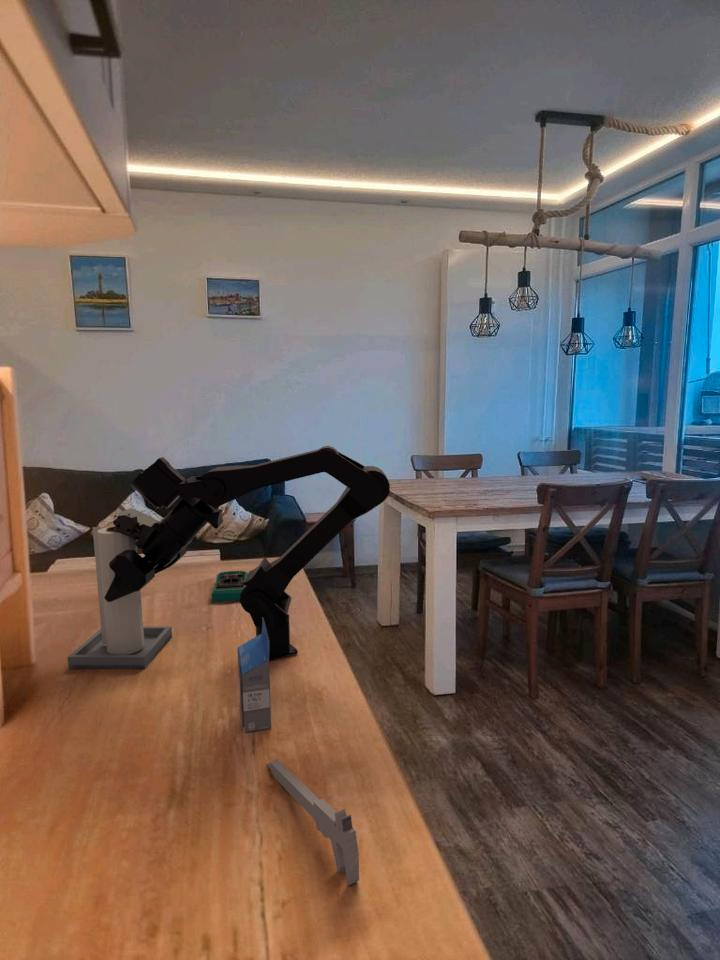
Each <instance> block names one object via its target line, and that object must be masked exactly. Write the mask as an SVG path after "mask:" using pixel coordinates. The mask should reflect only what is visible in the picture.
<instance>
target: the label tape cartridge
mask: <svg viewBox="0 0 720 960" xmlns="http://www.w3.org/2000/svg"><path fill="white" fill-rule="evenodd" d="M265 638H266V641H265ZM237 663H238V664H237V665H238V666H237V667H238V668H237V669H238V685H239V686H238V687H239V705H240V713H241V714H240V715H241V722H242V730H243V734H249V733H250V734H251V733H257V732H261V731H262V732H263V731H267V730H268V731H269V730H271V729H272V711H271V709H272V708H271V706H272V705H271V686H270V685H271V684H270V683H271V681H270V661H269V638H268V634H267V629H266V626H265V622H264V618H263V617H262V633H261V634H260V635H258V636H257V637H256V636H255V637H254V638H251V639H250V640H248V641H246V642H244V643H242V644H241V645H239V646H237Z"/></svg>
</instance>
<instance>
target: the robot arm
mask: <svg viewBox="0 0 720 960" xmlns="http://www.w3.org/2000/svg"><path fill="white" fill-rule="evenodd" d="M321 473H326V474H327V475H329V476H330V477H332V478H334V479H335V480H337V481H338V482H340V483H341V484H342V485H344V486H345V489H344V490H343V491H342V493H341V495H340V497H339V498H338V499H337V501H336V503H334V504H333V505H332V506H331V507H330V508H329V509H328V510H327V511H326V512H325V513H324V514H323V515H322V516H321V517H320V518H319V519H318V520H317V521H316V522H315V523H313V525H312V526H310V528H308V530H307V531H305V532H304V534H302V536H300V537H299V539H297V540H296V542H294V543H293V544H292V545H291V546H290V547H289V548H288V549H287V550H286V551H285V552H284V553H283V554H282V555H281V556H280V557H278V558H277V559H274V560H272V561H271V562H270V561H269V560H268V559H267V557H263V559H262V560H261V561H260V563H259V564H258V565H257V566H256V567H255V568H254V569H252V570H249V571H248V572H247V573H248V575H247V577H246V579H245V581H244V583H243V585H245V586H244V588H243V590H242V592H241V594H240V601H239V602H240V605H241V608H242V609H243V610H244V611H245V612H246V613H248V614H249V615H250V617H251V620H252V622H253V624H254V627H255V637H257V636H258V635H260V634H261V633H262V617H263V618H264V622H265V626H266V629H267V634H268V638H269V662H271V661H273V660H277V659H282V658H286V657H289V656H293V655H296V654H299V653H298V652H299V650H298V649H297V648H296V647H295V646H293V644H291V636H290V635H291V633H290V630H291V629H290V615H289V609H290V605H291V601H292V596H291V595H290V594H289V593H287V592H286V589H287V588H288V586H289V585H290V583H291V581H292V579H293V578H295V577H296V576H297V574H298V573H299V572H300V571H302V569H303V568H304V567H306V566H307V565H309V563H310V561H312V560H313V559H314V558H315V557H316V556H317V555H318V554H319V553H320V552H321V551H323V549H325V548H326V546H327V545H328V544H329V543H331V542H332V541H333V539H335V538H336V537H337V536H338V535H339V534H340V533H341V532H342V531H343V530H344V529H345V528H346V527H347V526H348V525H349V524H350V523H352V522H353V521H355V520H357V519H358V518H360V517H362V516H364V515H365V514H367V513H369V512H371V511H372V510H373V509H375V508H376V507H379V505H381V504H382V503H384V502H385V501H386V500H387V498H388V497H389V495H390V489H391V488H390V486H391V485H390V482H389V479H388V477H387V476H386V473H384V471H383V470H382V469H381V468H379V467H377V466H374V465H366V466H365V465H363V464H361V463H360V462H358V461H356V460H354V459H352V458H350V457H349V456H348V455H346V454H343V453H342V452H340V451H338V450H337V449H336V448H335V447H334V446H330V445H325V446H322V447H320V448H318V449H315V450H311V451H306V452H302V453H297V454H295V455H290V456H285V457H282V458H281V457H280V458H278V459H274V460H270V461H266V462H262V463H259V464H251V465H227V466H225V465H224V466H216V467H215V468H212V469H210V470H208V471H207V472H205V473H203V474H202V475H198V476H194V475H193V476H191V477H188V478H187V479H186V478H185V476H183V475H182V474H180V472H178V471H177V470H176V469H175V468H174V466H172V464H170V462H169V461H168V459H166V458H165V457H164V456H163V457H159V458H157V459H156V460H155V461H154V462H153V463H152V464H151V465H149V466H148V467H147V468H145V470H143V471H141V472H140V473H138V475H136V477H135V478H134V480H132V482H131V484H130V486H131V487H132V488H133V489H134V490H135V491H136V492H137V493H138V494H140V496H142V497H143V498H144V499H145V500H146V501H147V502H149V504H151V505H152V506H153V507H154V508H155V509H156V510H157V509H162V508H163V507H164V508H165V509H166V510H167V509H168V508H170V507H171V506H172V505H173V504H174V503H175V502H176V501H177V500H178V499H179V498H180V499H181V500H180V501H178V503H176V505H175V506H174V507H173V508H171V510H170V511H169V512H168V514H167V515H165V516H164V517H163V518H162V519H161V520H157V519H155V518H154V517H153V516H151V515H150V514H149V515H148V514H147V513H144V512H142V511H140V510H136V509H135V508H127V509H125V510H122V511H121V512H120V513H119V514H118V515H117V517H116V519H114V520H113V521H112V525H113V526H115V527H114V531H115V532H119V533H121V534H123V535H126V536H129V537H131V538H133V539H136V540H137V542H136V543H135V545H136V546H137V549H141V553H142V554H143V555H144V556H143V557H142V555H140V554H139V552H138V553H137V552H136V551H135V550H125V551H123V552H122V553H120V554H118V555H116V556H115V557H114V559H113V560H112V561H111V562H110V563H109V567H110V568H111V569H112V571H113V572H114V573H115V576H114V579H113V581H112V583H111V585H110V587H109V589H108V591H107V593H106V595H105V597H104V598H105V600H106V601H108V602H111V601H114V600H116V599H119V598H121V597H123V596H126V595H128V594H131V593H133V592H136V591H139V590H142V589H143V588H145V587H146V586H147V585H148V584H149V583H150V582H151V581H152V580H153V579H154V578H155V577H156V574H158V573H160V572H162V571H164V570H167V569H169V568H170V567H172V566H174V565H175V564H176V563H177V562H179V561H180V560H182V558H183V557H184V556H185V555H186V554H187V547H188V545H189V544H190V543H192V541H193V540H194V538H195V537H196V536H197V535H198V533H200V532H201V531H202V529H203V528H204V527H205V526H207V524H209V525H211V526H212V527H213V529H219V527H221V525H222V524H223V523H224V518H223V508H219V509H218V508H217V509H216V508H214V507H221V506H222V505H226V504H227V503H229V502H232V501H235V500H236V499H238V498H241V497H243V496H245V495H246V494H249V493H251V492H253V491H255V490H258V489H261V488H265V487H269V486H272V485H277V484H281V483H285V482H290V481H292V480H296V479H300V478H305V477H309V476H313V475H318V474H321ZM265 641H266V638H265Z"/></svg>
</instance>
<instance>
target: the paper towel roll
mask: <svg viewBox="0 0 720 960" xmlns="http://www.w3.org/2000/svg"><path fill="white" fill-rule="evenodd" d="M114 527H115V525H110V526H109V525H108V526H107V525H106V526H98V527H97V526H96V527H94V526H92V536H93V537H92V538H93V547H94V548H93V549H94V560H95V570H96V571H95V573H96V582H97V584H96V585H97V593H98V606H99V608H98V609H99V617H100V618H99V619H100V620H99V621H100V629H101V632H102V644H107V652H108V653H109V654H111V655H129V654H132V653H135V652H138V651H140V650H141V649H142V648H143V647H144V645H145V644H144V631H143V626H144V622H143V621H144V618H143V605H142V592H141V590H142V589H141V590H139V591H136V592H133V593H131V594H128V595H126V596H123V597H121V598H119V599H116V600H114V601H111V602H108V601H106V600H105V598H104V597H105V595H106V593H107V591H108V589H109V587H110V585H111V583H112V581H113V579H114V576H115V573H114V572H113V571H112V569H111V568H110V567H109V563H110V562H111V561H112V560H113V559H114V557H115V556H116V555H118V554H120V553H122V552H123V551H125V550H135V551H136V552H137V553H138V554H139V552H138V551H139V550H138V547H137V546H136V545H135V543H136V542H137V541H138V540H136V539H133V538H131V537H129V536H126V535H123V534H121V533H119V532H115V531H114Z"/></svg>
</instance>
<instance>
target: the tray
mask: <svg viewBox="0 0 720 960" xmlns="http://www.w3.org/2000/svg"><path fill="white" fill-rule="evenodd" d="M143 631H144V644H145V645H144V647H143V648H142V649H141V650H140V651H138V652H135V653H132V654H129V655H111V654H109V653H108V652H107V644H102V632H101V628H100V629H99V630H98V631H96V632H95V633H94V634H92V635H91V636H90V637H89V638H88V639H87V640H86V641H84V642H83V643H82V644H81V645H79V646H78V648H76V649H75V650H74V651H73V652H71V653H70V654H69V655H68V656H67V665H68V666H67V667H68V669H72V670H73V669H74V670H75V669H76V670H77V669H79V670H81V669H84V670H86V669H88V670H89V669H90V670H91V669H92V670H94V669H97V670H118V669H119V670H122V669H123V670H146V668H147V667H148V666H149V665H150V664H151V663H152V662H153V660H154V659H155V658H156V657H157V656H158V654H159V653H160V652H161V651H162V650H163V648H164V647H165V646H166V645H167V644H168V642H169V641H170V640H171V638H173V629H172V626H169V625H168V626H165V625H164V626H158V625H157V626H152V625H150V626H145V625H143Z"/></svg>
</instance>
